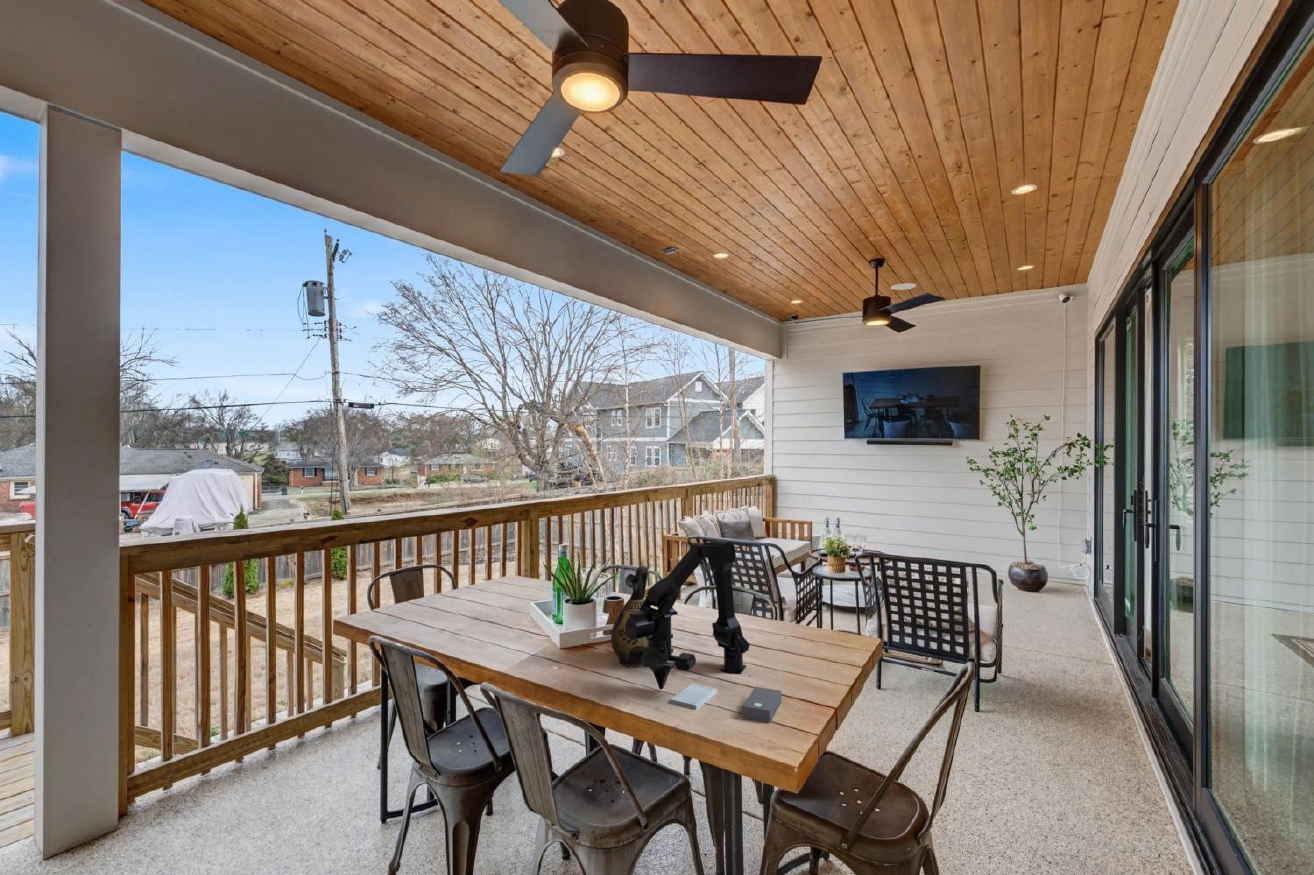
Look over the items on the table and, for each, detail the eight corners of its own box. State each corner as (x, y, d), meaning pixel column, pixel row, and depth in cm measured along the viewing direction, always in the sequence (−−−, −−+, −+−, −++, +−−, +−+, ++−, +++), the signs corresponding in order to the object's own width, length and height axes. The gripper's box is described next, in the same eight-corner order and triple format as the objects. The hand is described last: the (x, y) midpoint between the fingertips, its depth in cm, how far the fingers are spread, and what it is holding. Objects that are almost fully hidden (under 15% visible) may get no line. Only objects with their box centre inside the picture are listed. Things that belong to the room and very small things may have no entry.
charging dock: (750, 696, 161) (750, 685, 161) (781, 702, 157) (781, 690, 157) (736, 716, 149) (736, 704, 149) (770, 723, 145) (769, 710, 145)
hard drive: (696, 705, 153) (717, 688, 164) (669, 698, 157) (690, 682, 168) (696, 712, 153) (717, 694, 164) (669, 705, 157) (691, 688, 168)
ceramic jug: (649, 674, 177) (649, 574, 177) (603, 668, 182) (602, 570, 183) (668, 655, 193) (668, 563, 193) (625, 650, 198) (624, 560, 199)
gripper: (617, 636, 161) (618, 694, 161) (681, 645, 153) (681, 706, 153) (635, 625, 171) (636, 679, 171) (696, 633, 164) (696, 690, 163)
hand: (661, 688), depth 164 cm, fingers closed
